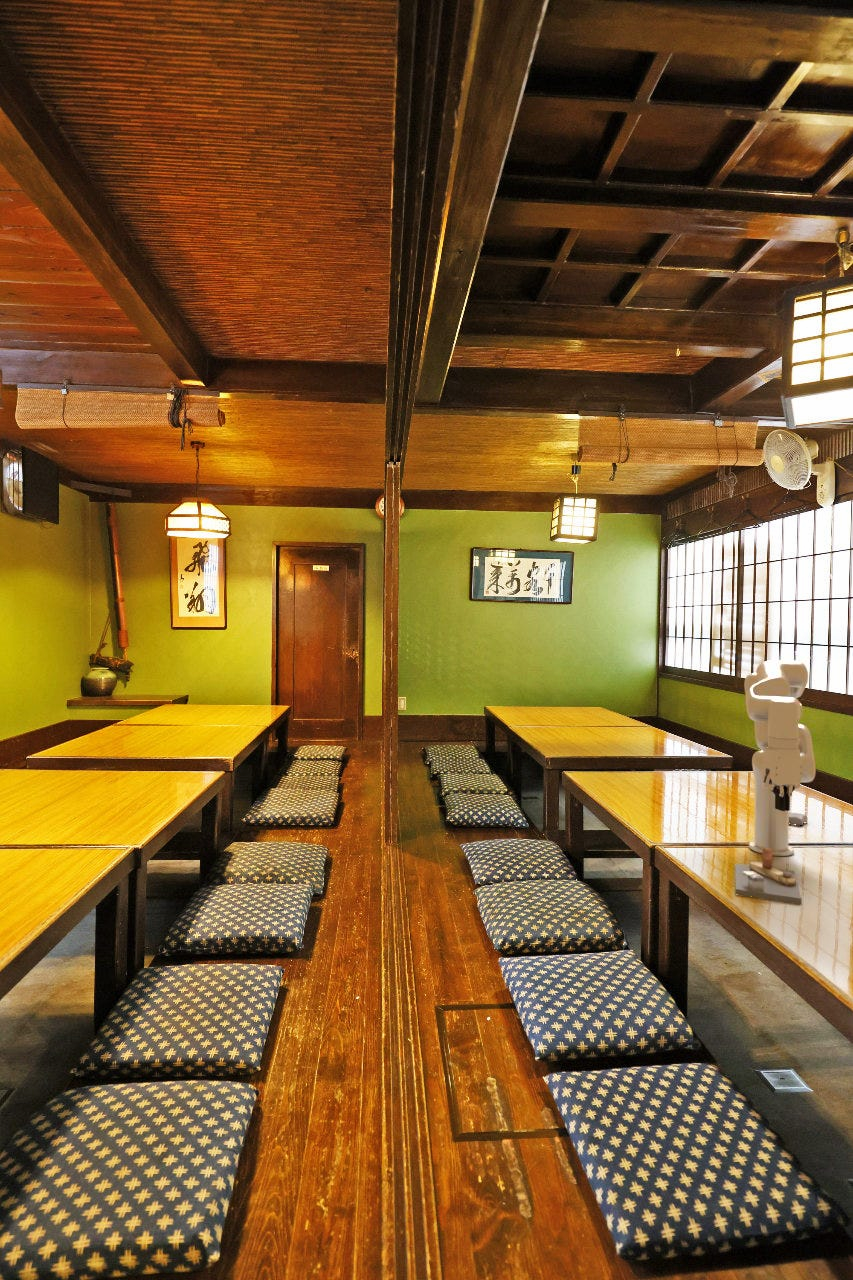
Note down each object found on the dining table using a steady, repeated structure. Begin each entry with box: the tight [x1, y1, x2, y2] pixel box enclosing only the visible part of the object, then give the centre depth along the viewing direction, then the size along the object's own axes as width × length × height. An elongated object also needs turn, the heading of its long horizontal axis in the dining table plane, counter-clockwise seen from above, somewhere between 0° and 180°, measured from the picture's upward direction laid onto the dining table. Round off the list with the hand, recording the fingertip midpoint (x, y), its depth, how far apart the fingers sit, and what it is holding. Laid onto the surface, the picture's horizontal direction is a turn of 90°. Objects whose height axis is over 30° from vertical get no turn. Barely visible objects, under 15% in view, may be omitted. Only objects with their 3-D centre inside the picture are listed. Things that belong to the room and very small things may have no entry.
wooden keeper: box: [742, 871, 764, 890], centre depth 177 cm, size 3×5×3 cm, turn 4°
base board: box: [734, 862, 802, 905], centre depth 183 cm, size 22×15×2 cm
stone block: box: [789, 812, 808, 826], centre depth 247 cm, size 12×5×10 cm
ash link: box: [748, 848, 797, 885], centre depth 185 cm, size 14×4×7 cm, turn 16°
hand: (782, 809), depth 188 cm, fingers closed
